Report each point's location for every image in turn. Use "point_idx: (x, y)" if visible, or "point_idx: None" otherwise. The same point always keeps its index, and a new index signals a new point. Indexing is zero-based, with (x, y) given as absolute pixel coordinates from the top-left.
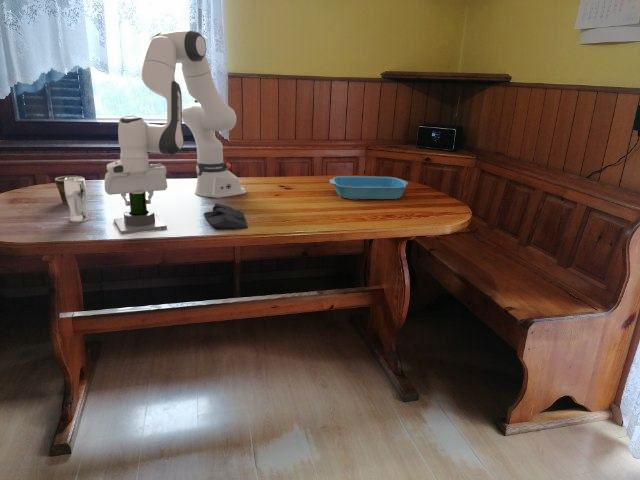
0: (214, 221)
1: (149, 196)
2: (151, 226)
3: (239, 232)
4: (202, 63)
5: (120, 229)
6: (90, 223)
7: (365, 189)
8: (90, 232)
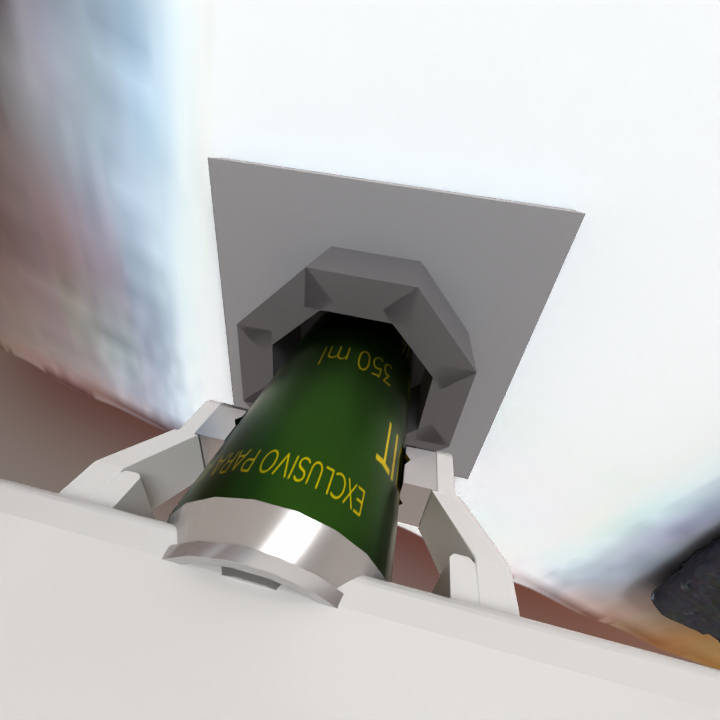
0: (714, 592)
1: (437, 546)
2: None
3: (692, 641)
4: None
5: (235, 403)
6: (61, 96)
7: None
8: (103, 305)
